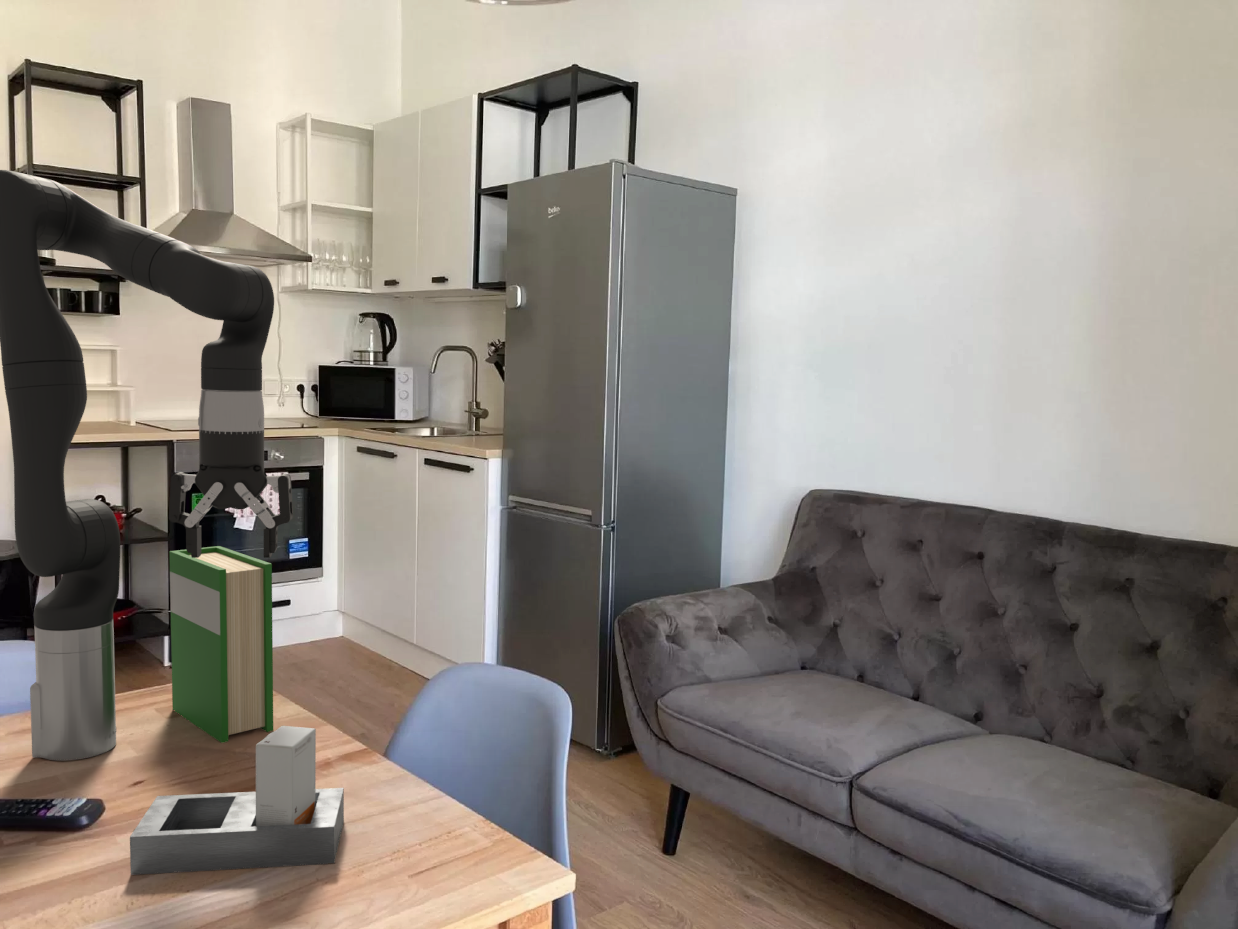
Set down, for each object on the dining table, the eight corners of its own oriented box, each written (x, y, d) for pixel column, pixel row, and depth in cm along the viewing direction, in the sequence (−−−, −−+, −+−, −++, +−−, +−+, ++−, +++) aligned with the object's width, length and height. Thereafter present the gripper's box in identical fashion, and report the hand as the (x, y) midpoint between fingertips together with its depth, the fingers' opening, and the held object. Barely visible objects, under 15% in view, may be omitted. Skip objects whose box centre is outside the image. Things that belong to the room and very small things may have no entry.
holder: (130, 875, 104) (129, 837, 104) (157, 830, 114) (157, 796, 114) (334, 863, 107) (334, 826, 107) (343, 821, 117) (343, 788, 117)
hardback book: (273, 730, 146) (271, 563, 143) (221, 743, 141) (219, 570, 138) (221, 700, 158) (219, 546, 156) (172, 710, 153) (169, 551, 151)
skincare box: (292, 857, 108) (292, 747, 107) (254, 854, 109) (253, 744, 108) (317, 832, 114) (317, 727, 113) (281, 828, 115) (280, 724, 114)
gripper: (296, 426, 131) (295, 551, 133) (178, 423, 129) (179, 550, 131) (287, 430, 124) (286, 562, 126) (162, 427, 122) (163, 562, 123)
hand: (232, 556), depth 128 cm, fingers open, 8 cm apart
